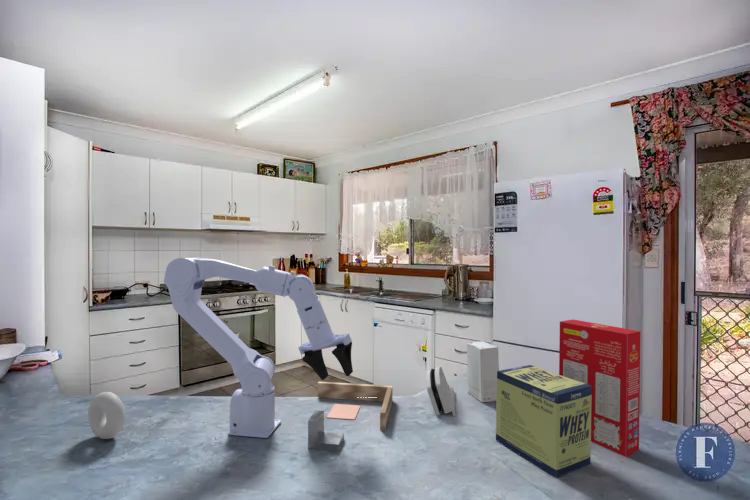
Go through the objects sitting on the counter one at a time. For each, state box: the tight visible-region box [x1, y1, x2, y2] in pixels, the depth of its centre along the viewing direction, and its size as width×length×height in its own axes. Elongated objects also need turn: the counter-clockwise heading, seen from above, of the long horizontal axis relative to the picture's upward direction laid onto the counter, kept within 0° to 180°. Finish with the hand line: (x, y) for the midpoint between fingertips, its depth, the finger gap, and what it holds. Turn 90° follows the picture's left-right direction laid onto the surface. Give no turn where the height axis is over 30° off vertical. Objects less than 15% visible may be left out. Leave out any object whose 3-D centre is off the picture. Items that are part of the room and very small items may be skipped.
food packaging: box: [558, 318, 642, 458], centre depth 85 cm, size 15×5×25 cm, turn 31°
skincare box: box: [466, 341, 500, 403], centre depth 108 cm, size 8×6×15 cm
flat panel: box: [326, 403, 361, 421], centre depth 97 cm, size 7×8×1 cm
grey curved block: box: [425, 366, 457, 417], centre depth 103 cm, size 17×5×10 cm, turn 169°
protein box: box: [495, 364, 592, 478], centre depth 79 cm, size 10×16×16 cm
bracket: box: [307, 410, 345, 452], centre depth 81 cm, size 6×5×6 cm
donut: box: [87, 391, 126, 440], centre depth 83 cm, size 10×4×10 cm, turn 65°
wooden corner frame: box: [316, 381, 394, 431], centre depth 98 cm, size 21×17×4 cm
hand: (337, 375), depth 90 cm, fingers open, 7 cm apart
